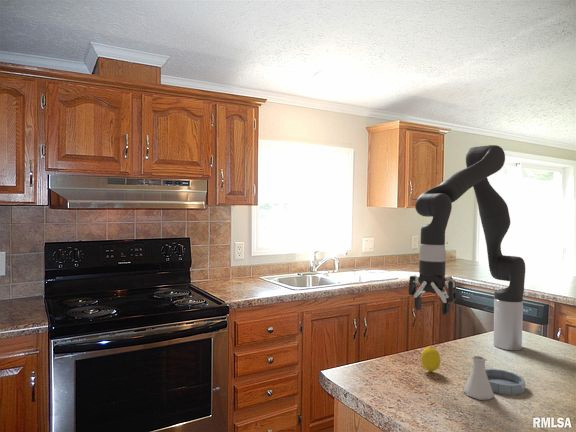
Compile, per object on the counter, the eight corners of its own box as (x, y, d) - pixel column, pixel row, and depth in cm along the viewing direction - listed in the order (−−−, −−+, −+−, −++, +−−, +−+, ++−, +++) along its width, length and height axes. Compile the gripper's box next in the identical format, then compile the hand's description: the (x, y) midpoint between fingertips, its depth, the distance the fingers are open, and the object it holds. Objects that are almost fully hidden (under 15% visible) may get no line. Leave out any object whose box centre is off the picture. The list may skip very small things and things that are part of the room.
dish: (487, 374, 124) (487, 365, 124) (530, 386, 115) (530, 377, 115) (471, 384, 116) (471, 376, 116) (515, 398, 107) (515, 389, 107)
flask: (479, 402, 105) (480, 364, 105) (457, 391, 111) (458, 354, 111) (499, 398, 108) (500, 360, 108) (477, 387, 114) (477, 351, 114)
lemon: (417, 370, 126) (417, 344, 126) (431, 367, 128) (431, 342, 128) (429, 377, 121) (430, 350, 121) (444, 374, 123) (444, 347, 123)
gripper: (460, 260, 121) (460, 314, 122) (417, 256, 132) (416, 306, 132) (449, 262, 116) (448, 319, 116) (404, 257, 127) (403, 309, 127)
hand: (431, 312), depth 124 cm, fingers open, 8 cm apart
